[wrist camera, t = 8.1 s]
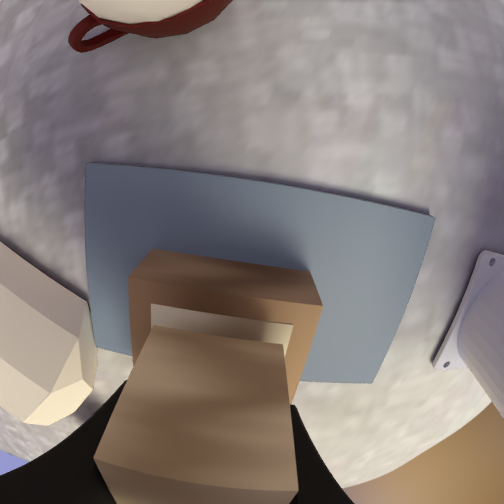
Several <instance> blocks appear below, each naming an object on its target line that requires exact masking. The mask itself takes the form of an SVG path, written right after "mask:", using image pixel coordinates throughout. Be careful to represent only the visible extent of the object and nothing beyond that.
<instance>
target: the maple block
mask: <svg viewBox="0 0 504 504" xmlns="http://www.w3.org/2000/svg"><path fill="white" fill-rule="evenodd" d="M94 460H95V462H96V464H97V467H98V469H99V471H100V473H101V475H102V477H103V479H104V481H105V483H106V484H107V486H108V488H109V490H110V492H111V494H112V496H113V497H114V499H115V501H116V503H117V504H289V503H290V502H291V501H292V499H293V498H294V496H295V495H296V494H297V492H298V491H299V490H298V479H297V469H296V459H295V449H294V439H293V429H292V420H291V411H290V402H289V393H288V384H287V375H286V366H285V358H284V349H283V344H277V343H268V342H260V341H251V340H244V339H236V338H229V337H222V336H215V335H209V334H202V333H196V332H190V331H184V330H178V329H173V328H167V327H162V326H157V325H153V327H152V329H151V332H150V334H149V336H148V338H147V340H146V342H145V344H144V346H143V348H142V350H141V352H140V354H139V356H138V358H137V360H136V363H135V365H134V367H133V369H132V371H131V373H130V375H129V378H128V380H127V382H126V384H125V386H124V388H123V391H122V393H121V395H120V397H119V399H118V402H117V404H116V406H115V408H114V411H113V413H112V415H111V418H110V420H109V422H108V424H107V427H106V429H105V431H104V434H103V436H102V438H101V441H100V443H99V446H98V448H97V450H96V453H95V455H94Z"/></svg>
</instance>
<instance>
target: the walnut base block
mask: <svg viewBox="0 0 504 504" xmlns="http://www.w3.org/2000/svg"><path fill="white" fill-rule="evenodd" d="M128 294H129V316H130V332H131V345H132V356H133V366H134V365H135V363H136V360H137V358H138V356H139V354H140V352H141V350H142V348H143V346H144V344H145V342H146V340H147V338H148V336H149V334H150V332H151V329H152V327H153V325H157V326H162V327H167V328H173V329H178V330H184V331H190V332H196V333H202V334H209V335H215V336H222V337H229V338H236V339H244V340H251V341H260V342H268V343H277V344H283V349H284V358H285V366H286V375H287V384H288V393H289V402H290V405H291V403H292V400H293V398H294V395H295V392H296V389H297V386H298V384H299V381H300V378H301V375H302V372H303V369H304V366H305V363H306V360H307V357H308V354H309V351H310V348H311V344H312V341H313V338H314V335H315V332H316V328H317V325H318V322H319V319H320V315H321V312H322V308H323V304H322V301H321V299H320V296H319V293H318V291H317V288H316V285H315V283H314V280H313V278H312V275H311V272H309V271H302V270H295V269H288V268H281V267H274V266H267V265H260V264H253V263H246V262H239V261H232V260H226V259H219V258H212V257H205V256H199V255H192V254H185V253H179V252H172V251H165V250H159V249H152V250H151V251H150V252H149V253H148V254H147V256H146V257H145V258H144V259H143V260H142V261H141V263H140V264H139V265H138V266H137V267H136V268H135V270H134V271H133V272H132V273H131V274H130V276H129V277H128Z"/></svg>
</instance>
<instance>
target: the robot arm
mask: <svg viewBox="0 0 504 504" xmlns="http://www.w3.org/2000/svg"><path fill="white" fill-rule="evenodd" d="M490 260H491V262H490ZM489 262H490V263H489ZM432 366H433V367H434V369H435V370H453V369H467V368H469V370H470V371H471V372H472V374H473V375H474V376H475V378H476V379H477V381H478V382H479V383H480V385H481V386H482V388H483V389H484V390H485V392H486V393H487V395H488V396H489V398H490V399H491V401H492V402H493V404H494V405H495V406H496V408H497V409H498V411H499V413H500V414H501V416H502V417H503V419H504V255H503V254H499V253H495V252H492V251H488V250H484V251H482V252H481V253H480V255H479V257H478V259H477V262H476V265H475V268H474V271H473V274H472V276H471V279H470V282H469V284H468V287H467V290H466V292H465V295H464V297H463V299H462V302H461V304H460V307H459V309H458V311H457V314H456V316H455V318H454V320H453V323H452V325H451V327H450V329H449V331H448V333H447V335H446V337H445V339H444V342H443V344H442V346H441V348H440V349H439V351H438V353H437V355H436V357H435V359H434V361H433V363H432ZM126 382H127V380H126V381H124V383H123V384H122V385H121V386H120V387H119V388H118V389H117V390H116V392H115V393H114V394H113V395H112V396H111V397H110V398H109V399H108V400H107V401H106V402H105V403H104V404H103V405H102V406H101V407H100V408H99V409H98V410H97V411H96V412H95V413H94V414H93V415H92V416H91V417H90V418H89V419H88V420H87V421H86V422H85V423H84V424H82V425H81V426H80V427H79V428H78V429H77V430H75V431H74V432H73V433H72V434H71V435H69V436H68V437H67V438H66V439H64V440H63V441H62V442H60V443H59V444H58V445H56V446H55V447H53V448H52V449H50V450H49V451H47V452H46V453H44V454H43V455H41V456H39V457H38V458H36V459H34V460H32V461H31V462H29V463H27V464H25V465H23V466H21V467H19V468H16V469H14V470H12V471H10V472H8V473H5V474H3V475H0V504H117V503H116V501H115V499H114V497H113V496H112V494H111V492H110V490H109V488H108V486H107V484H106V483H105V481H104V479H103V477H102V475H101V473H100V471H99V469H98V467H97V464H96V462H95V460H94V455H95V453H96V450H97V448H98V446H99V443H100V441H101V438H102V436H103V434H104V431H105V429H106V427H107V424H108V422H109V420H110V418H111V415H112V413H113V411H114V408H115V406H116V404H117V402H118V399H119V397H120V395H121V393H122V391H123V388H124V386H125V384H126ZM290 411H291V420H292V429H293V439H294V449H295V459H296V469H297V479H298V490H299V491H298V492H297V494H296V495H295V496H294V498H293V499H292V501H291V502H290V503H289V504H354V503H353V502H352V500H351V499H350V498H349V497H348V496H347V494H346V493H345V492H344V491H343V489H342V488H341V487H340V486H339V484H338V483H337V481H336V480H335V479H334V477H333V476H332V474H331V473H330V471H329V470H328V468H327V467H326V465H325V463H324V462H323V460H322V458H321V457H320V455H319V453H318V451H317V450H316V448H315V446H314V444H313V442H312V441H311V439H310V437H309V435H308V433H307V431H306V429H305V426H304V424H303V422H302V420H301V417H300V415H299V413H298V410H297V408H296V406H295V405H290Z"/></svg>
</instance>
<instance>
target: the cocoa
mask: <svg viewBox="0 0 504 504" xmlns="http://www.w3.org/2000/svg"><path fill="white" fill-rule="evenodd" d="M78 1H79V2H80V3H81V5H82V7H83V8H84V9H85V10H86V11H87V12H88V13H89V14H90V15H89V16H87V17H86V18H84V19H83V20H82V21H80V22H79V23H78V24H77V25H76V26H75V27H74V28H73V30H72V31H71V33H70V35H69V40H68V42H69V44H70V46H71V47H72V48H73V49H74V50H76V51H78V52H81V53H82V52H87V51H91V50H94V49H96V48H99V47H101V46H103V45H105V44H108V43H110V42H112V41H114V40H116V39H118V38H120V37H121V36H124V35H126V34H128V33H132V34H137V35H141V36H146V37H150V38H161V37H167V36H174V35H181V34H187V33H189V32H191V31H193V30H195V29H197V28H198V27H200V26H202V25H204V24H207V23H209V22H211V21H213V20H214V19H215V18H216V17H217V16H218V15H219V14H220V13H221V12H222V11H223V10H224V9H225V8H226V7H227V6H228V4H229V3H230V2H231V1H232V0H78ZM101 24H103V25H105V26H107V27H109V28H111V29H110V30H108V31H106V32H104V33H102V34H100V35H98V36H96V37H93V38H91V39H88V40H83V41H81V40H82V38H83V37H84V35H85V34H86V33H87V32H88V31H90V30H91V29H92V28H94V27H96V26H98V25H101Z"/></svg>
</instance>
